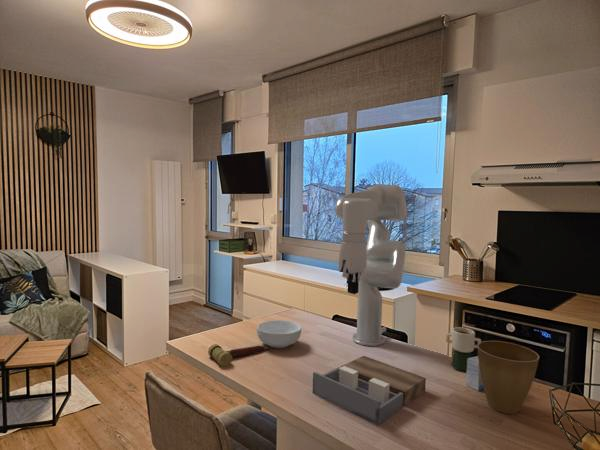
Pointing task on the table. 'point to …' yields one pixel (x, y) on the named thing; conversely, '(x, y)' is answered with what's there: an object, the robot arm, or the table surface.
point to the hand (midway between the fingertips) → (352, 292)
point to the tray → (355, 397)
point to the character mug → (462, 346)
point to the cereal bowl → (279, 333)
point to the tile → (379, 390)
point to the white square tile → (348, 377)
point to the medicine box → (474, 374)
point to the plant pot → (506, 374)
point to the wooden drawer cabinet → (390, 377)
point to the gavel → (231, 353)
